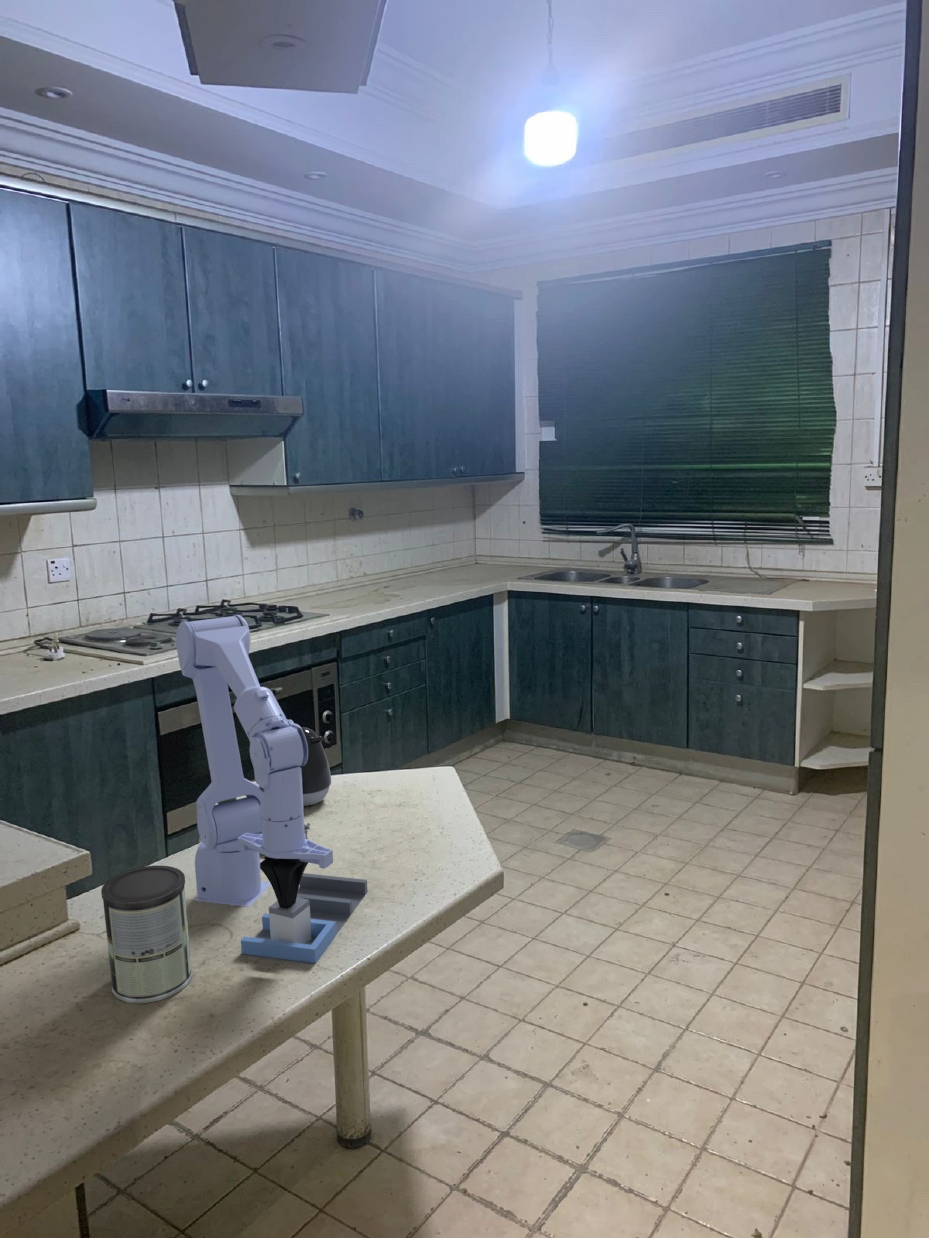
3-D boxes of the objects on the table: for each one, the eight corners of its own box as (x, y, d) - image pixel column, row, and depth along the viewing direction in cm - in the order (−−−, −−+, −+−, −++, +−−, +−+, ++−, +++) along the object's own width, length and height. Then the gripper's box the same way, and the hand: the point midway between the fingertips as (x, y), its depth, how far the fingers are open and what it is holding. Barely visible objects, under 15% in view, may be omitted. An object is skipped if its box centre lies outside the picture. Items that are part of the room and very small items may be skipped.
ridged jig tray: (241, 958, 127) (239, 941, 126) (303, 887, 147) (302, 872, 146) (315, 967, 124) (314, 950, 123) (368, 894, 144) (367, 878, 143)
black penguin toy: (305, 815, 175) (301, 739, 172) (269, 803, 181) (264, 730, 178) (343, 799, 183) (340, 726, 180) (307, 787, 189) (303, 717, 186)
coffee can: (95, 985, 121) (85, 886, 118) (164, 951, 129) (156, 857, 126) (138, 1014, 114) (129, 910, 112) (208, 977, 122) (201, 879, 120)
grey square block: (271, 946, 128) (268, 907, 127) (288, 932, 132) (286, 894, 131) (294, 952, 127) (292, 912, 125) (311, 938, 130) (309, 899, 129)
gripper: (343, 810, 126) (347, 902, 128) (257, 795, 132) (262, 883, 134) (314, 830, 120) (319, 926, 122) (225, 813, 126) (231, 905, 128)
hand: (287, 905), depth 128 cm, fingers closed, pressing on grey square block
